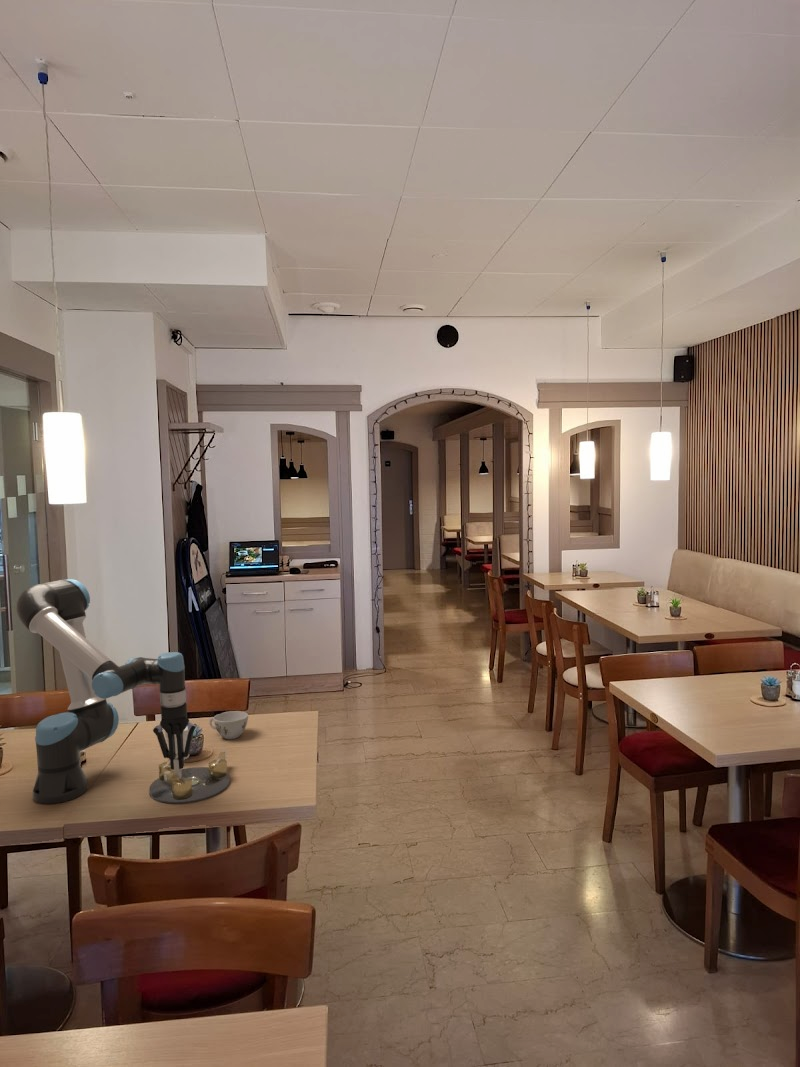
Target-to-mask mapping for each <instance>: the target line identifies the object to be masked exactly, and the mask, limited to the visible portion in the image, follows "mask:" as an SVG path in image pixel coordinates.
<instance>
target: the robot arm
mask: <svg viewBox="0 0 800 1067" xmlns="http://www.w3.org/2000/svg"><path fill="white" fill-rule="evenodd" d="M90 603H91V596H90V593H89V590H88V589H87V587H86V586H85V585H84V584H83V583H82V582H80V581H79V580H78V579H77V580H76V579H72V578H70V579H69V578H67V579H59V580H54V581H49V582H43V583H38V584H33V585H30V586H28V587H26V588H25V589H24V590H22V592H20V595H18V598H17V600H16V608H15V609H16V614H17V616H18V619H19V621H20V622H21V623H22V625H23V626H24V627H25V628H26V629H27V630H29V632H30V633H32V634H39V635H40V636H41V637H42V638H43V639H45V641H47V643H49V644H50V645H51V646H53V648H55V649H56V650H57V651H58V653H59V656H60V661H61V664H62V670H63V673H64V678H65V680H66V681H65V682H66V686H67V690H68V694H69V697H70V704H69V706H68V707H67V712H60V713H59V712H58V713H57V714H52V715H50V716H47V717H45V718H43V719H42V720H40V721H39V722H38V723H37V725H36V727H35V737H34V740H35V746H36V747H35V748H36V759H37V760H36V761H37V775H36V778H35V781H34V782H35V783H34V786H33V789H32V798H33V799H32V800H33V801H34V802H36V803H39V804H45V805H50V804H51V805H52V804H58V803H64V802H68V801H71V800H74V799H76V798H78V797H80V796H82V795H83V794H85V793H86V792H87V790H88V788H89V787H88V786H89V785H88V779H87V777H86V774H85V773H84V770H83V769H82V768H83V767H82V766H81V760H80V759H81V758H80V753H81V752H82V751H84V750H86V749H88V748H91V747H93V746H94V745H98V744H100V743H103V742H105V741H106V740H108V739H110V738H111V737H112V736H113V735H114V734H115V733H116V731H117V729H118V726H119V723H120V720H119V719H120V718H119V712H118V710H117V708H116V707H115V706H114V705H113V704H112V703H111V702H108V701H107V699H109V698H112V697H117V696H118V695H120V694H123V693H124V692H127V691H131V690H133V689H135V688H138V687H140V686H143V685H145V684H151V685H158V687H159V699H160V700H159V701H160V702H159V703H160V705H161V706H160V717H161V719H160V723H159V724H158V725H155V726H154V727H153V729H152V731H153V733H154V734H155V736H156V739H157V741H158V744H159V746H160V749H161V754H162V755H163V758H164V759H168V760H169V759H170V765H171V769H174V775H176V776H178V777H179V778H181V777H182V776H181V769H184V766H185V760H184V757H187V756H188V754H189V753H190V754H191V747H192V742H193V737H194V732H195V729H197V727H198V725H197V723H192V722H190V719H189V717H188V706H187V702H186V701H187V691H186V679H185V677H186V674H185V672H186V671H185V668H186V666H185V660H184V655H183V654H182V653H181V652H178V651H173V652H172V651H170V652H169V651H167V652H164V653H161V654H159V655H158V656H157V658H151V657H150V658H148V657H142V656H141V657H131V658H129V659H128V660H127V662H125V664H123V665H121V666H118V665H117V663H115V662H114V661H113V660H111V658H109V657H108V656H106V655H105V654H104V653H103V652H102V651H101V650H100V649H98V648H97V647H96V646H95V645H94V644H93V643H91V642H90V641H89V640H88V639H87V636H86V632H85V628H84V624H83V623H84V620H85V619H86V617H87V614H86V611H87V609H88V608H89V606H90V605H89V604H90ZM186 726H188V730H189V732H188V736H187V741H186V746H185V751H184V748H183V731H184V729H185V728H186ZM163 729H164V730H165V731H166V733H168V741H169V749H168V745H167V740H166V736H165V733H164V730H163ZM175 734H176V738H177V750H178V757H175V756H176V752H175V737H174V735H175ZM190 754H189V755H190Z"/></svg>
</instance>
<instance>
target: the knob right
mask: <svg viewBox="0 0 800 1067" xmlns="http://www.w3.org/2000/svg"><path fill="white" fill-rule="evenodd" d="M226 759H227V749H225V748H224V749H221V750H220V753H219V754H218V755H217V758H216V759H212V760H210V761H209V762H208V767H209V777H210V778H214V779H218V778H222V777H225V776H226V775H227V774H228V763H227V762H228V761H227V760H226Z"/></svg>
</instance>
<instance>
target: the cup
mask: <svg viewBox="0 0 800 1067" xmlns="http://www.w3.org/2000/svg"><path fill="white" fill-rule="evenodd" d="M162 729H163V728H162ZM162 731H163V733H164V737H165V740H166V743H167V746H168V749H169V741H168V733H166V731H165V730H164V729H163V730H162ZM188 732H189V730H188V726H186V728H185V729H184V731H183V748H184V751H185V746H186V741H187V736H188ZM174 737H175V752H176V751H178V750H177V738H176V734H175V735H174ZM189 757H190V754H188V756H187V757H184V761H186V760H187V759H188V758H189ZM185 759H186V760H185Z"/></svg>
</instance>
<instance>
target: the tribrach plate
mask: <svg viewBox="0 0 800 1067" xmlns="http://www.w3.org/2000/svg"><path fill="white" fill-rule="evenodd" d="M181 776H182V777H181V778H189V779H191V780H192V795H191V796H190V797H188V798H185V799H175V798H173V793H172V785H171V784H169V783H167V782H166V781H162V780H160V779H159V777H158V778H156V779H155V780H154V781H153V782H152V783H151V784H150V785H149V789H148V792H149V793H148V794H149V796H150V798H152V799H153V800H154V801H156V802H160V803H164V804H170V805H175V804H179V805H180V804H182V805H184V804H190V803H196V802H200V801H204V800H208V799H210V798H214V797H215V796H217V795H219V794H221V793H223V792H224V791H225V790H226V789H227V788H229V785H230V783H231V782H230V775H229V773H227V775H226V776H225V777H222V778H218V779H214V778H210V777H209V766H207V767H206V766H197V767H196V766H195V767H189V768H183V769H181Z"/></svg>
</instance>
